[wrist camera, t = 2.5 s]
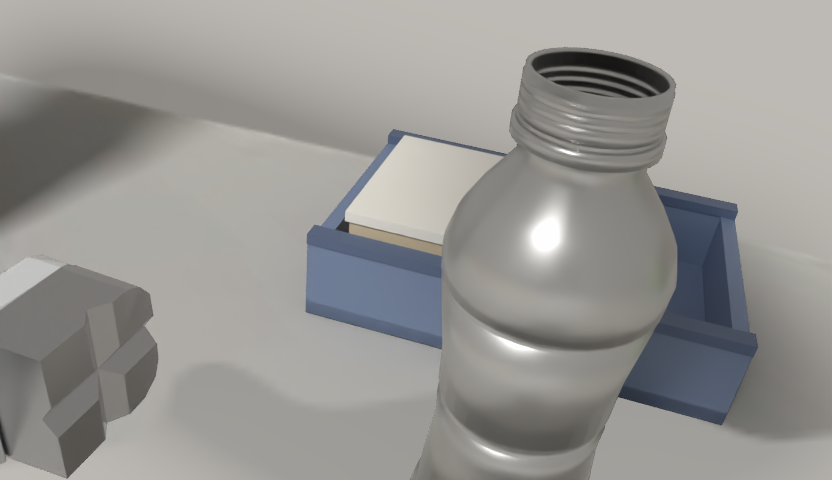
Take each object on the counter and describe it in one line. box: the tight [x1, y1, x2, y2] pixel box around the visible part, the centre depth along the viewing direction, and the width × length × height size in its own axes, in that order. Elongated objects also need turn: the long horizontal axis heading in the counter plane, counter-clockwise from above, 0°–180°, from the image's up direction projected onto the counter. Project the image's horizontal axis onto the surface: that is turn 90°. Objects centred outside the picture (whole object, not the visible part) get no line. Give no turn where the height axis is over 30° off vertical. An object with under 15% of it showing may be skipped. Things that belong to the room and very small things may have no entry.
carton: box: [345, 135, 504, 256], centre depth 44 cm, size 8×10×5 cm
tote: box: [306, 129, 758, 425], centre depth 43 cm, size 22×14×5 cm, turn 73°
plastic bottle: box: [410, 47, 677, 480], centre depth 24 cm, size 6×7×20 cm
